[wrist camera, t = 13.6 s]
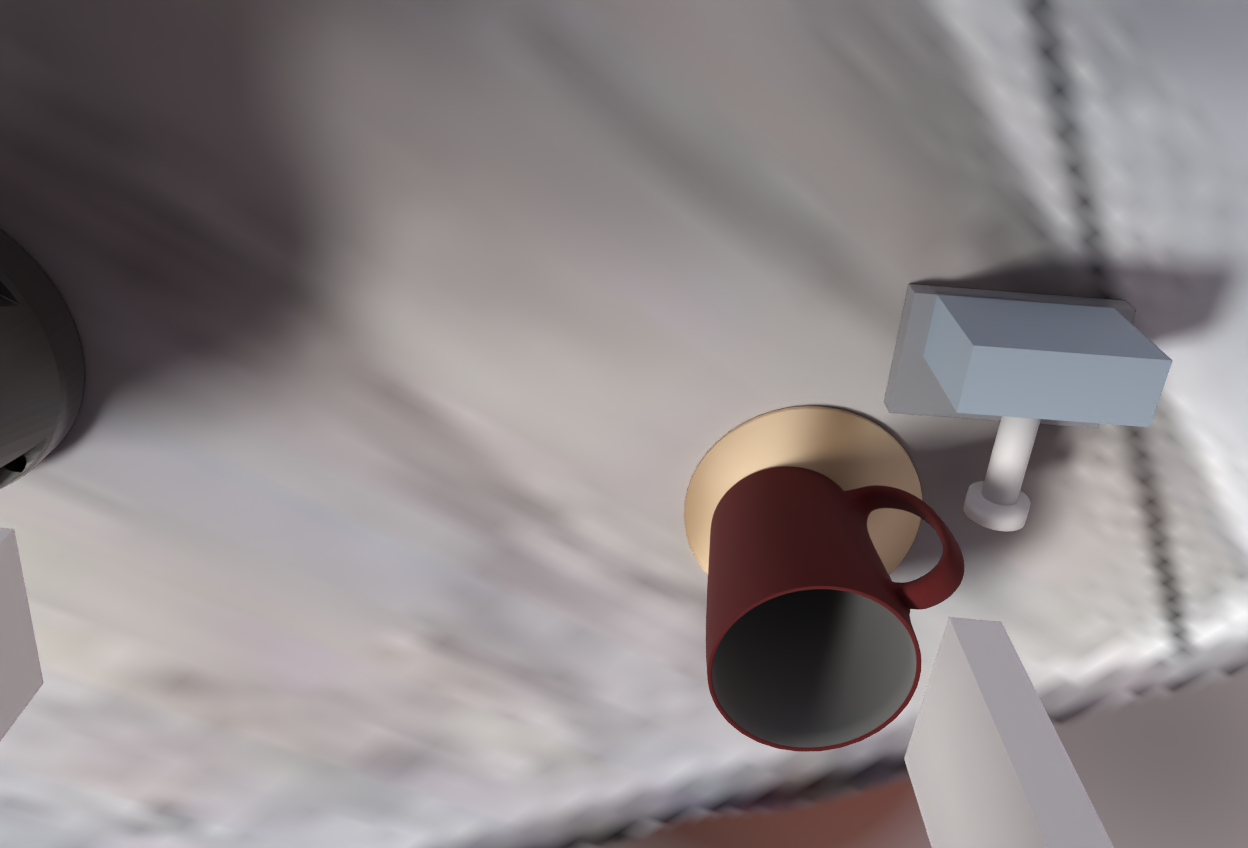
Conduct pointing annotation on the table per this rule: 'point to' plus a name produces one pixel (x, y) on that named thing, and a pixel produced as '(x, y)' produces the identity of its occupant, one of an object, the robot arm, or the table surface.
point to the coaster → (816, 443)
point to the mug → (813, 610)
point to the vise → (1021, 375)
